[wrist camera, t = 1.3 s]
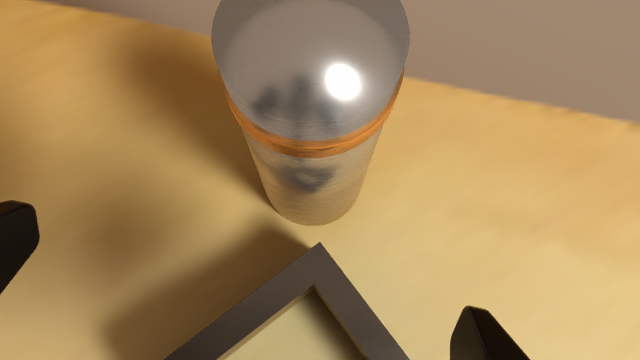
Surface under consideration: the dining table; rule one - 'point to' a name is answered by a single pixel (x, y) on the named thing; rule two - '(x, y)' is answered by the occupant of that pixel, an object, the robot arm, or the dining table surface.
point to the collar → (284, 292)
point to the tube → (311, 93)
